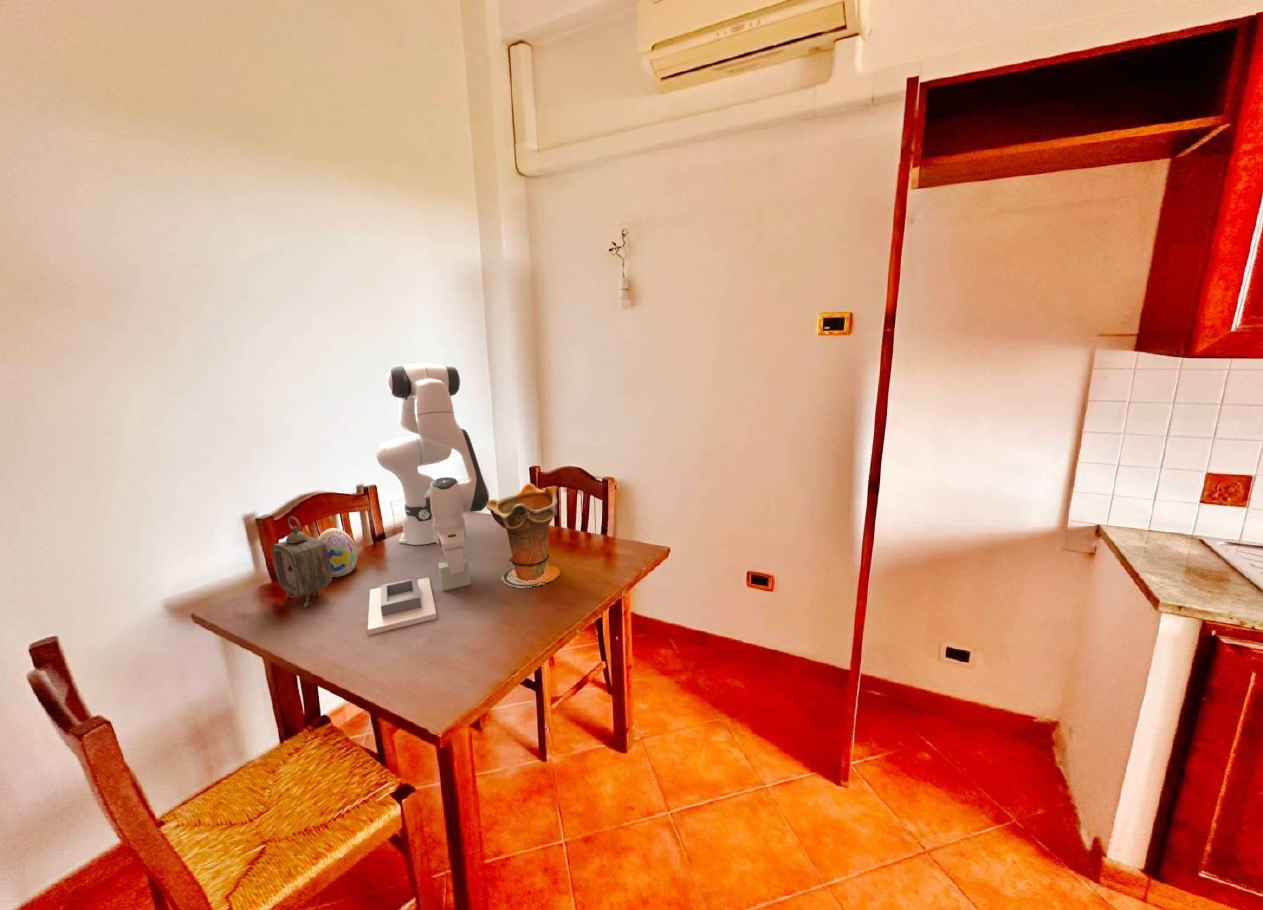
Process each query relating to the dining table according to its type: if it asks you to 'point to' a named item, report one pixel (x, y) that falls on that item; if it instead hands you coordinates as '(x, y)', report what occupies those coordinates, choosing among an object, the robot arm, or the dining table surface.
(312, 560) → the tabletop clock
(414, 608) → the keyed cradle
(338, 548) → the decorative egg
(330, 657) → the dining table surface
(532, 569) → the decorative vase
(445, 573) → the key block
